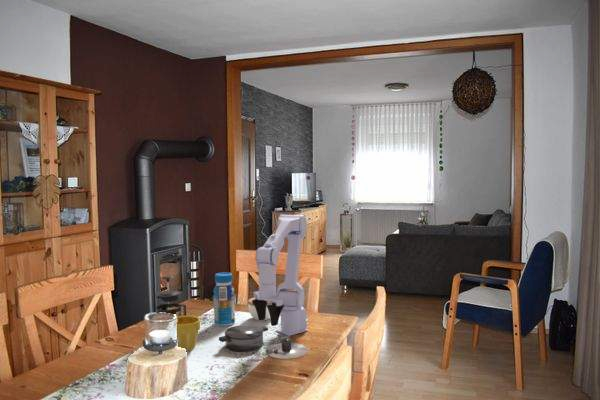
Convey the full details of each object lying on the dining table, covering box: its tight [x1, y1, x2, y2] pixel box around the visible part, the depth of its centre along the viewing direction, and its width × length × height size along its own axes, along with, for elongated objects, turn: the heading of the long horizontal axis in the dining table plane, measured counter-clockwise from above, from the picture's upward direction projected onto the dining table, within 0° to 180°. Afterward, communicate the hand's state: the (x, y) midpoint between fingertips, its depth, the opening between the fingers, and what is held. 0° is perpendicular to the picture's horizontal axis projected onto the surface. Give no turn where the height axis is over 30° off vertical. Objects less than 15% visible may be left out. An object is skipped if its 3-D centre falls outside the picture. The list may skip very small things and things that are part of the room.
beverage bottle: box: [212, 271, 236, 327], centre depth 197 cm, size 8×8×20 cm
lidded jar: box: [247, 297, 272, 322], centre depth 204 cm, size 11×11×9 cm
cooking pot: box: [218, 324, 269, 353], centre depth 173 cm, size 19×13×5 cm
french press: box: [155, 275, 187, 317], centre depth 180 cm, size 12×9×23 cm
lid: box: [265, 337, 308, 360], centre depth 167 cm, size 14×14×4 cm
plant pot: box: [176, 315, 201, 351], centre depth 171 cm, size 10×10×10 cm
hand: (268, 322), depth 167 cm, fingers open, 7 cm apart
